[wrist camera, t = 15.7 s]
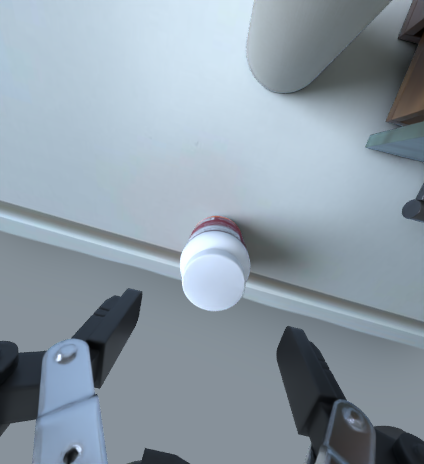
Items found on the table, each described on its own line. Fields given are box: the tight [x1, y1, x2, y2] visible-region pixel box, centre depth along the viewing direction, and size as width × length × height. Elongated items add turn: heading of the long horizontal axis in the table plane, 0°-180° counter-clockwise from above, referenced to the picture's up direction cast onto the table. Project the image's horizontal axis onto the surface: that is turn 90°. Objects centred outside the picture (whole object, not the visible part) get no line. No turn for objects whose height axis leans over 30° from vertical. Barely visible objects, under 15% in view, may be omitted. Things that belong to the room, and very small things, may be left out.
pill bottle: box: [180, 216, 250, 311], centre depth 20 cm, size 6×6×11 cm
